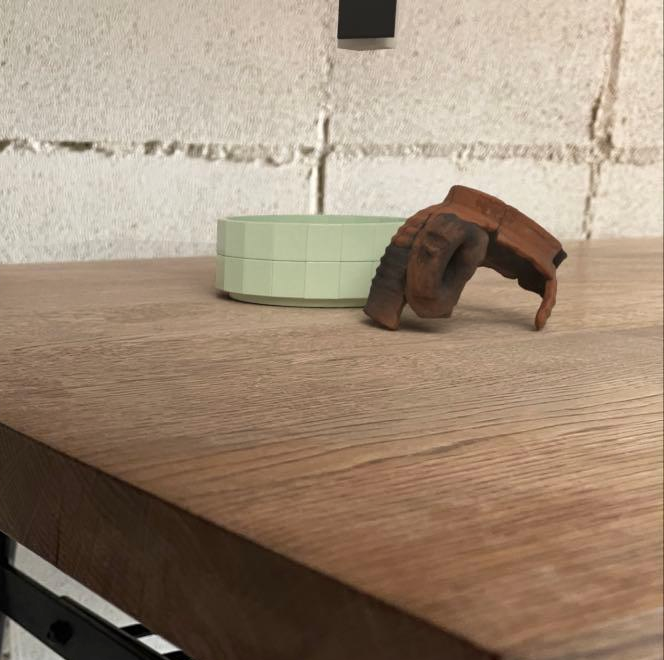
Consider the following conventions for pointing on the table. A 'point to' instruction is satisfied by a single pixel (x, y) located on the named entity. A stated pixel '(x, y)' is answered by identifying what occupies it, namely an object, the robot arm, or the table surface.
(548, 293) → the ram-horned helmet
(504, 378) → the table surface
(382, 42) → the white cube
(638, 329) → the table surface
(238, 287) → the bowl
